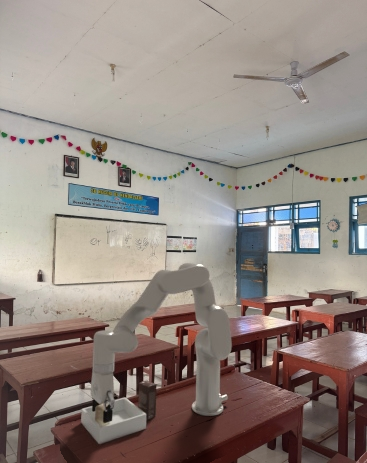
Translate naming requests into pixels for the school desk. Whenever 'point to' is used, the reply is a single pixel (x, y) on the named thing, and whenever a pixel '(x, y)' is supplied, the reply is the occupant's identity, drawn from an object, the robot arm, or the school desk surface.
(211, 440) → the school desk surface
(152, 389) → the box
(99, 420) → the beige piece
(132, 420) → the tote
